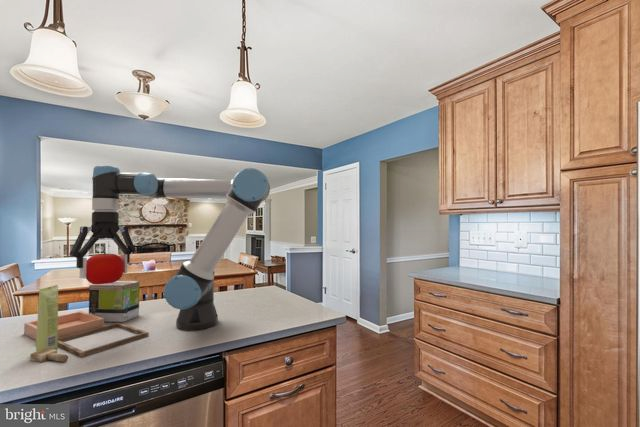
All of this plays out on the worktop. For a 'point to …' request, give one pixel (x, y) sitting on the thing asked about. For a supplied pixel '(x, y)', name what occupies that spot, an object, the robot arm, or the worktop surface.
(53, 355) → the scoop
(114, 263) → the tomato
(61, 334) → the brown wooden flat box
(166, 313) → the worktop surface
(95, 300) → the tea box
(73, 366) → the worktop surface
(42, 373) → the worktop surface
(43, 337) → the tube
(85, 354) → the rim
